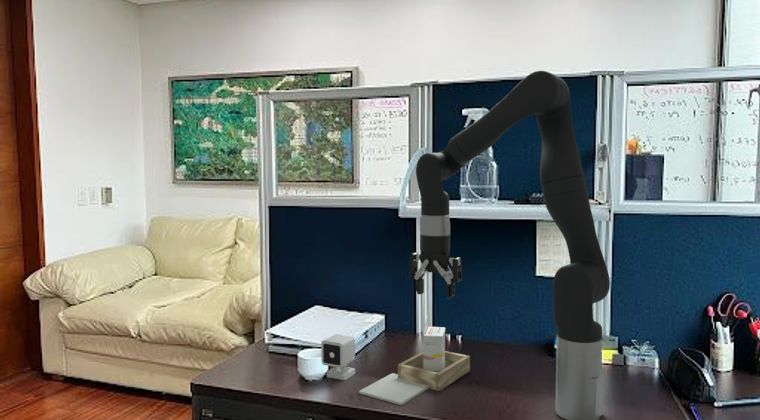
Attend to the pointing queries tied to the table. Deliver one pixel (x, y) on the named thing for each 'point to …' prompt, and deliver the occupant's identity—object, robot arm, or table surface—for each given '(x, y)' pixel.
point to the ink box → (433, 348)
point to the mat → (394, 389)
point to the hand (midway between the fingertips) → (434, 295)
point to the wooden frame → (436, 381)
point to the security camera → (338, 355)
